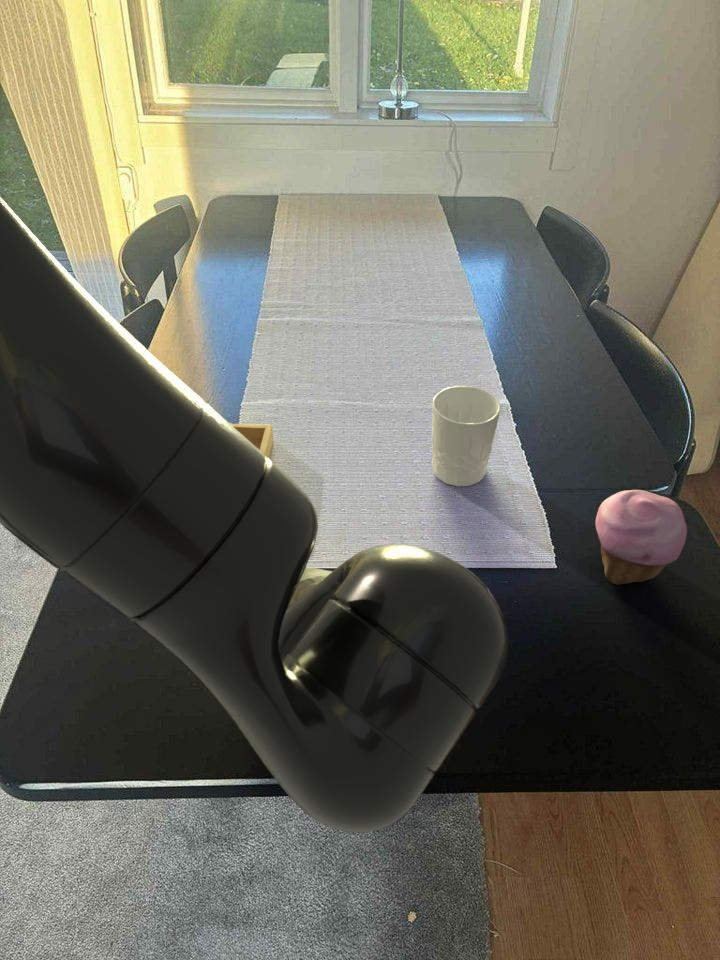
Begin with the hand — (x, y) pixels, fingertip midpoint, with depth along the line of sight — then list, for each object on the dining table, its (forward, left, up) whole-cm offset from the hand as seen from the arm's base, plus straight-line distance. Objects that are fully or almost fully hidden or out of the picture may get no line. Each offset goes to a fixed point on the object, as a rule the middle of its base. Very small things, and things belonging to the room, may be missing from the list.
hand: (280, 607), depth 59 cm
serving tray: (-14, +29, -10) cm, 34 cm away
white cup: (+18, +31, -11) cm, 37 cm away
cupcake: (+35, +15, -11) cm, 39 cm away
